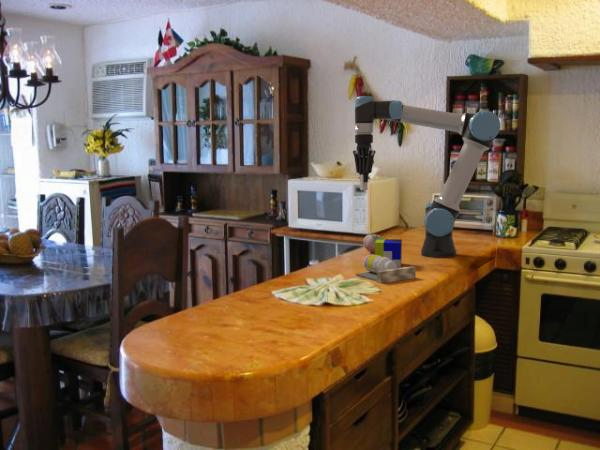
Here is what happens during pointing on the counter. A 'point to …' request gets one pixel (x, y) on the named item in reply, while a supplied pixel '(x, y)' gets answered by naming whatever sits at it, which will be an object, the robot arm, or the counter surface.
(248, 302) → the counter surface
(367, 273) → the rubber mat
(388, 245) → the puzzle toy
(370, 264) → the supplement bottle
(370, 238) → the decorative fruit
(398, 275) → the backstop rail
